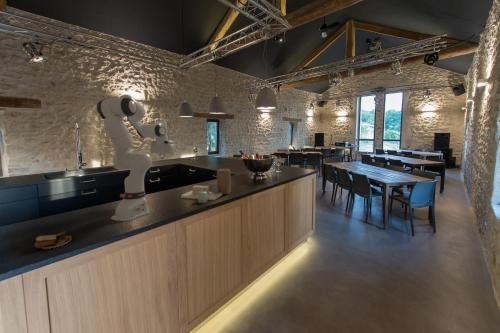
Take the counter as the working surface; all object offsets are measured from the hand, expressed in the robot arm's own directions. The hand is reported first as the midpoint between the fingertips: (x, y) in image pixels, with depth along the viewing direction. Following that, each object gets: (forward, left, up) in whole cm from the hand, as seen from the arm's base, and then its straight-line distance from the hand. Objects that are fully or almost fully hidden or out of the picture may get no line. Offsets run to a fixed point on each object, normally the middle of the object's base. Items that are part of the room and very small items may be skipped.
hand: (162, 159), depth 192 cm
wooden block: (+25, -41, -30) cm, 56 cm away
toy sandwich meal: (-85, +1, -31) cm, 91 cm away
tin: (+15, -38, -28) cm, 49 cm away
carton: (+10, -21, -25) cm, 34 cm away
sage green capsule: (-3, -35, -30) cm, 46 cm away
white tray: (+10, -28, -30) cm, 42 cm away
